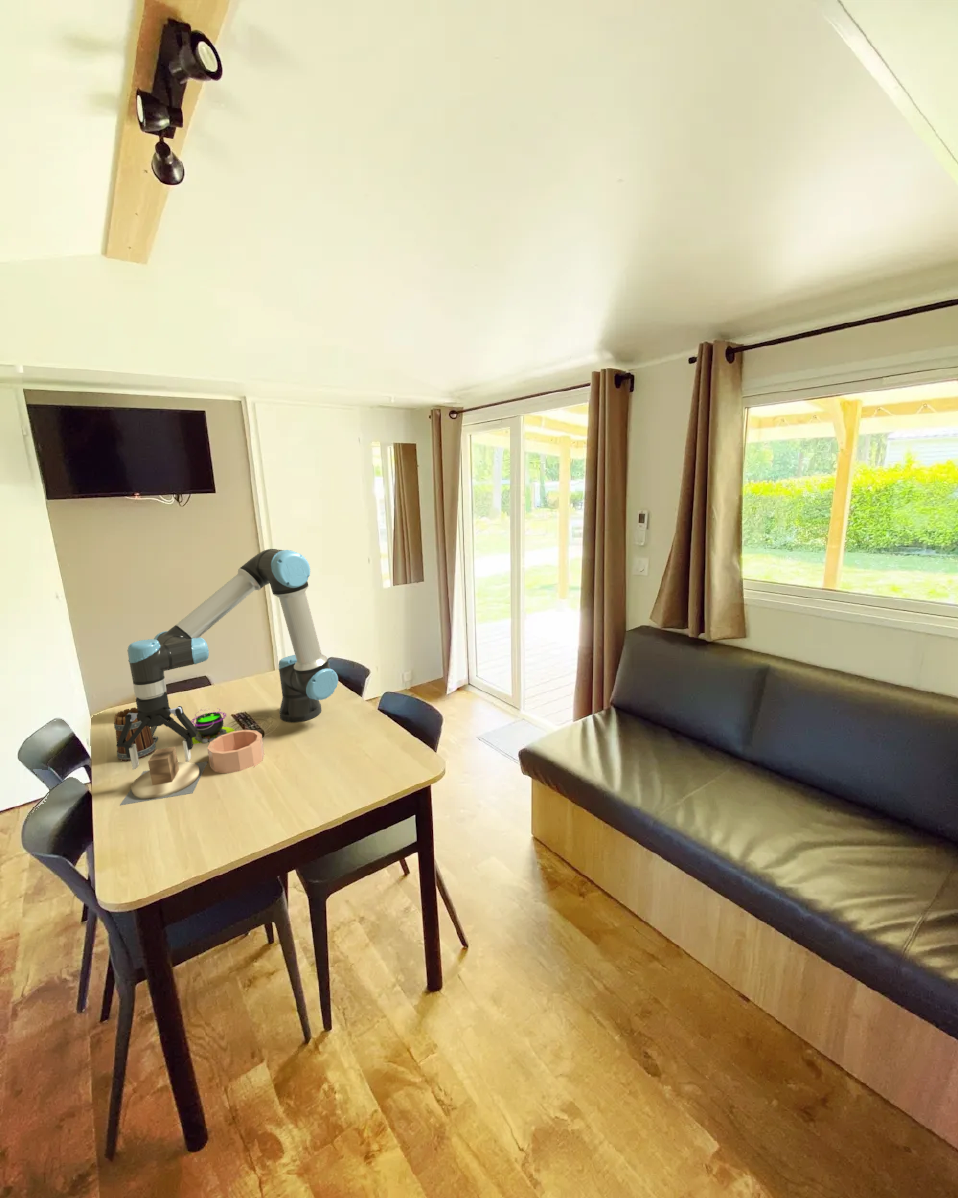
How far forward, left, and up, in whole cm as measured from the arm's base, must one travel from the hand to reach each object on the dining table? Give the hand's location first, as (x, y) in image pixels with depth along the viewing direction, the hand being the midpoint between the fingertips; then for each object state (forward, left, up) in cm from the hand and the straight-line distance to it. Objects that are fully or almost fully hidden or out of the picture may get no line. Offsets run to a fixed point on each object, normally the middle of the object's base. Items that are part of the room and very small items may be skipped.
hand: (162, 763), depth 146 cm
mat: (0, 0, -7) cm, 7 cm away
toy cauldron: (-6, -29, -7) cm, 30 cm away
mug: (+14, -25, -7) cm, 30 cm away
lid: (0, 0, -6) cm, 6 cm away
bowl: (-18, -7, -7) cm, 21 cm away
